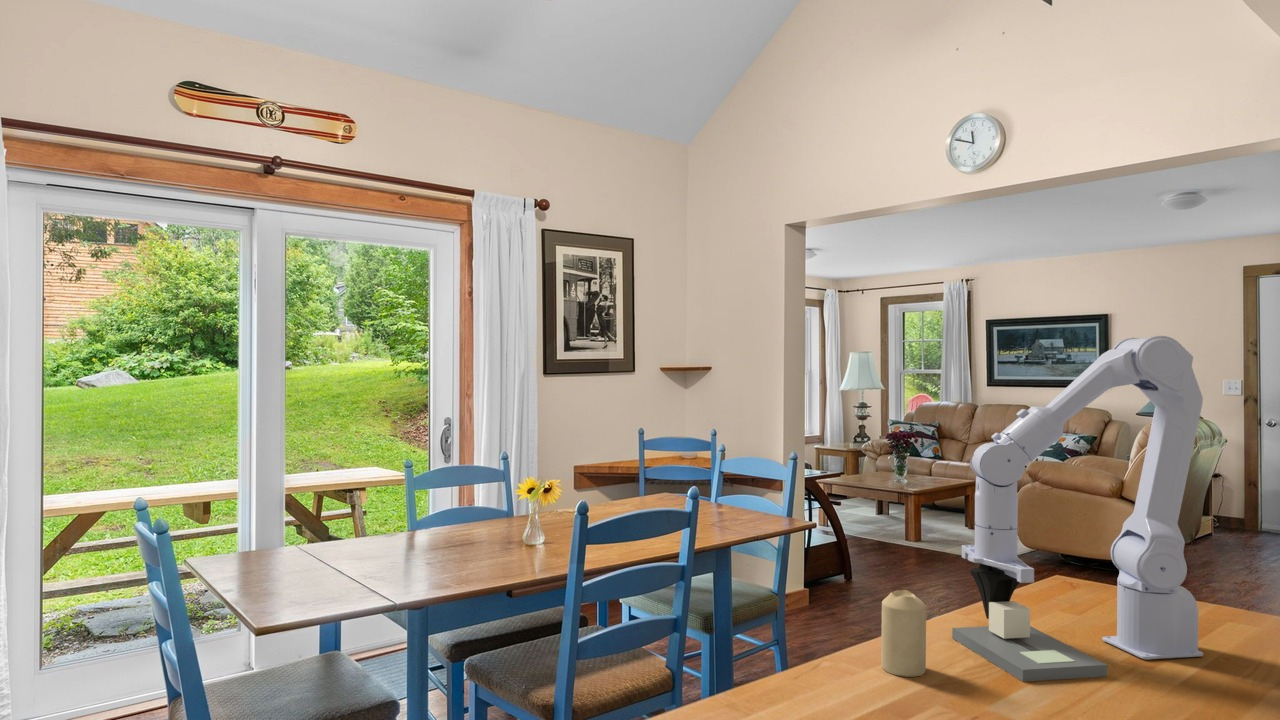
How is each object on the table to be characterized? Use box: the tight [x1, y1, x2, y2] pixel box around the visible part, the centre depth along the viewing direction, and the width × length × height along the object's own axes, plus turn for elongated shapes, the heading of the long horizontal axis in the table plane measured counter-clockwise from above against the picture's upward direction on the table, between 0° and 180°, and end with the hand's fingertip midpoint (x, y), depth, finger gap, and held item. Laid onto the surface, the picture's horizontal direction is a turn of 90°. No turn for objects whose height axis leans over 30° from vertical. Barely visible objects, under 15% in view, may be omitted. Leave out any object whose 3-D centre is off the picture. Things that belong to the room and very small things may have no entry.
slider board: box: [951, 625, 1108, 683], centre depth 109 cm, size 12×16×2 cm
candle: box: [880, 589, 927, 678], centre depth 104 cm, size 6×6×10 cm
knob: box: [988, 600, 1031, 639], centre depth 112 cm, size 4×4×4 cm
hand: (995, 619), depth 116 cm, fingers closed
